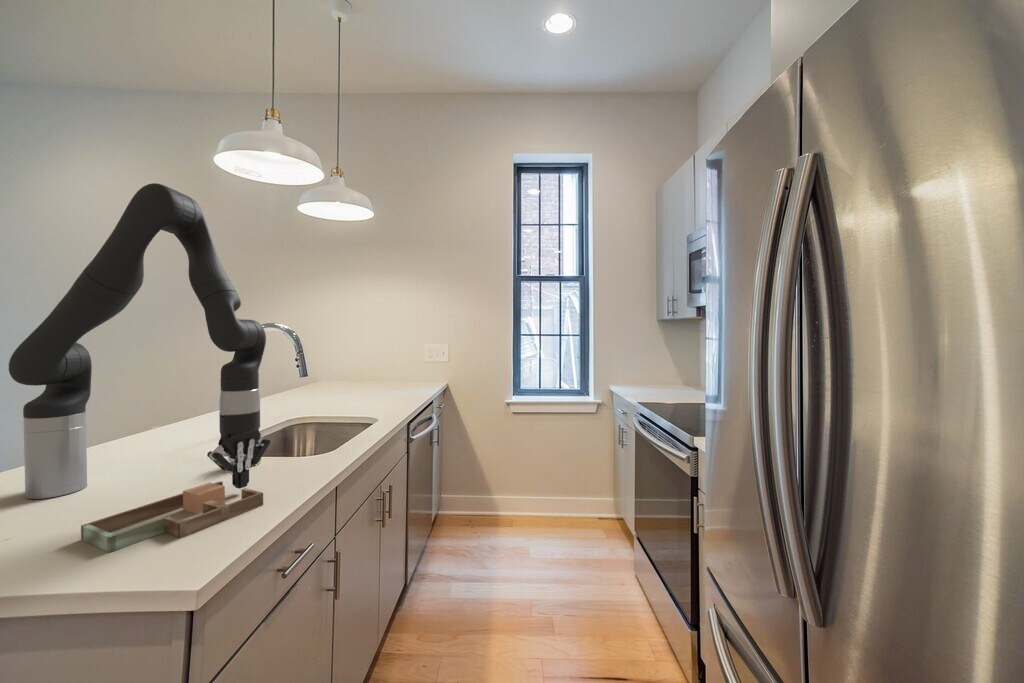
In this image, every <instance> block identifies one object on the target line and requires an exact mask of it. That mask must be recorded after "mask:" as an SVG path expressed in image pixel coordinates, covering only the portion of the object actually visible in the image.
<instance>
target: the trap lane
mask: <svg viewBox="0 0 1024 683" xmlns="http://www.w3.org/2000/svg"><path fill="white" fill-rule="evenodd" d="M213 483H214V484H218V485H222V486H224V481H221V480H220V481H217V482H213ZM240 490H241V492H240V493H241V498H240V499H239V500H236V501H233V502H231V503H228V504H226V503H225V504H223V503H219V502H216V501H212V500H210V501H207V502H204V503H203V513H201V514H197V515H195V516H193V517H191V518H188V519H185V520H181V519H178V518H174V517H172V516H170V515H165V516H162V517H159V518H156V519H153V520H151V521H147V522H144V523H141V524H138V525H135V526H133V527H130V528H127V529H125V530H122V531H119V532H116V533H111V532H112V531H111V530H113V531H115V530H114V529H116V530H118V529H117V528H119V529H121V528H120V527H122V528H124V527H123V526H125V527H127V526H126V525H128V526H130V525H129V524H131V525H133V524H132V523H134V524H136V523H135V522H137V523H139V522H138V521H140V522H142V521H141V520H143V521H145V520H148V519H151V518H154V517H156V516H157V517H158V516H161V515H162V514H165V513H168V512H170V511H171V512H172V511H174V510H177V509H180V508H183V492H182V493H179V494H177V495H173V496H170V497H167V498H164V499H160V500H156V501H154V502H151V503H150V502H149V503H147V504H144V505H141V506H138V507H136V508H135V507H134V508H133V509H128V510H125V511H123V512H119V513H116V514H113V515H110V516H107V517H104V518H100V519H97V520H95V521H91V522H87V523H85V524H82V525H80V540H81V539H82V540H81V541H83V540H84V541H83V542H85V541H86V542H85V543H87V542H88V543H87V544H90V545H92V546H95V547H96V548H99V549H101V550H103V551H105V552H108V553H113V552H115V551H118V550H120V549H123V548H126V547H128V546H131V545H134V544H137V543H139V542H142V541H144V540H147V539H149V538H153V537H154V536H157V535H160V534H162V533H166V534H168V535H171V536H174V537H177V538H180V539H181V538H184V537H186V536H188V535H191V534H194V533H197V532H199V531H202V530H204V529H207V528H209V527H211V526H214V525H217V524H219V523H221V522H224V521H226V520H228V519H232V518H234V517H236V516H238V515H239V516H240V515H241V514H243V513H246V512H249V511H251V510H254V509H256V508H258V506H259V507H260V506H264V492H262V491H259V490H254V489H251V488H247V487H243V488H240ZM150 517H151V518H150ZM147 518H148V519H147ZM144 519H145V520H144ZM108 531H110V532H108Z"/></svg>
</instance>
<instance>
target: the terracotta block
mask: <svg viewBox="0 0 1024 683" xmlns="http://www.w3.org/2000/svg"><path fill="white" fill-rule="evenodd" d="M214 483H215V482H206V483H203V484H200V485H196V486H193V487H191V488H187V489H185V490H183V491H182V493H183V507H182V510H184V511H187V512H190V513H193V514H196V515H201V514H203V503H204V502H207V501H210V500H212V501H216V502H219V503H223V504H226V495H225V494H226V491H225V490H226V489H225V487H226V486H225V485H223V486H222V485H218V484H214Z"/></svg>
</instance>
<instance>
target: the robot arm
mask: <svg viewBox="0 0 1024 683" xmlns="http://www.w3.org/2000/svg"><path fill="white" fill-rule="evenodd" d="M160 231H163V232H166V233H170V234H173V235H174V236H175V237H176V238H177V240H178V241H179V242H180V244H181V245H182V247H183V248H184V250H185V252H186V255H187V258H188V278H189V279H188V280H189V282H190V286H191V288H192V290H193V292H194V293H195V294H194V295H195V296H196V297H197V299H198V301H199V303H200V304H201V306H202V308H203V311H204V316H205V323H206V326H207V331H208V332H207V333H208V334H209V335H208V336H209V337H210V340H211V341H212V343H213V344H214V345H215V346H216V347H217V348H218V349H219V350H221V351H222V352H227V353H229V352H230V353H234V354H233V358H232V360H231V361H230V362H227V363H225V364H223V365H222V366H221V368H220V394H219V403H218V404H219V406H218V408H219V411H218V412H219V433H220V438H219V440H218V442H217V444H218V445H217V447H216V448H215V449H214V450H213V451H212V450H211V451H208V452H207V455H206V456H207V457H208V458H209V459H210V460H211V461H212V462H213V463H215V465H217V466H218V467H219V469H221V470H222V471H225V472H228V473H229V472H230V473H231V476H232V477H231V478H232V479H231V481H232V483H231V484H232V486H233V487H234V488H236V489H238V490H239V489H240V490H241V489H244V488H247V486H248V484H249V482H250V470H251V467H254V466H253V465H256V464H257V463H258V462H259V460H260V459H261V460H262V457H263V456H264V454H265V452H266V451H267V448H268V447H269V445H270V444H271V440H270V439H265V438H264V437H262V436H261V435H262V433H261V431H260V428H261V396H260V389H259V386H260V381H259V379H260V378H259V375H260V374H259V373H260V372H259V369H260V366H261V363H262V359H263V356H264V352H265V350H266V349H265V348H266V344H267V336H266V332H265V329H264V326H263V325H262V324H261V323H260V322H258V321H257V320H255V319H239V318H238V317H237V315H236V311H238V310H239V309H240V307H241V305H242V301H241V298H240V296H239V294H238V292H237V291H236V289H235V286H234V285H233V284H232V280H230V278H229V277H228V276H229V275H227V273H226V271H225V269H224V267H223V265H222V262H221V260H220V258H219V256H218V253H217V250H216V247H215V243H214V241H213V238H212V235H211V233H210V229H209V226H208V224H207V220H206V217H205V214H204V212H203V210H202V207H201V206H200V204H199V203H197V201H196V200H195V199H193V198H192V197H190V196H188V195H186V194H183V193H182V192H179V190H175V189H173V188H172V187H168V186H166V185H164V184H161V183H156V182H155V183H154V182H153V183H148V184H146V185H143V186H142V187H140V188H139V190H137V191H136V192H135V194H134V195H133V196H132V197H131V199H130V201H129V202H128V205H126V208H125V209H124V211H123V212H122V215H121V216H120V219H119V220H118V222H117V224H116V225H115V227H114V229H113V230H112V232H111V233H110V235H109V236H108V238H107V239H106V240H105V242H104V244H103V245H102V246H101V247H100V249H99V251H97V253H96V254H95V256H94V257H93V258H92V260H91V261H90V262H89V263H88V264H87V266H86V267H85V268H84V269H83V270H82V272H81V273H80V274H79V276H78V277H77V278H76V280H75V281H74V282H73V284H72V285H71V287H70V288H69V289H68V291H67V293H66V294H65V295H64V296H63V297H62V298H61V300H60V301H59V302H58V303H57V305H56V306H55V307H54V309H53V310H52V311H51V312H50V313H49V314H48V316H46V318H45V319H44V320H42V322H41V323H40V324H39V325H38V326H37V327H36V328H35V329H34V330H32V332H31V333H30V334H29V335H28V336H27V337H26V338H25V339H24V340H23V341H22V342H21V343H20V344H19V345H18V346H17V348H16V349H15V350H14V352H13V353H12V354H11V357H10V359H9V361H8V373H9V375H10V377H11V378H12V379H13V381H14V382H16V383H19V384H20V385H25V386H34V387H35V386H45V389H44V391H43V392H42V393H40V394H39V395H38V396H37V397H35V398H34V399H32V400H30V401H29V402H27V403H25V404H24V405H23V409H22V410H23V411H22V415H23V416H22V417H23V418H22V420H23V447H24V448H23V451H24V454H23V456H24V490H25V491H24V493H25V494H24V497H25V498H26V499H29V500H41V499H49V498H54V497H61V496H64V495H69V494H72V493H75V492H78V491H80V490H83V489H85V488H87V486H88V457H87V456H88V454H87V451H88V450H87V414H86V413H87V407H86V406H87V403H88V402H89V400H90V397H91V389H92V387H91V386H92V372H93V368H92V366H93V364H92V358H91V355H90V352H89V351H88V349H87V348H86V347H85V346H84V345H83V344H80V343H78V341H79V340H80V339H82V337H83V336H85V335H86V334H88V333H89V332H90V331H92V330H94V329H96V328H97V327H99V326H100V325H103V324H105V323H106V322H107V321H109V320H110V319H113V318H114V317H115V316H117V315H119V314H120V313H122V311H123V310H124V309H126V307H127V306H128V305H129V304H130V302H131V301H132V300H133V299H134V297H135V296H136V294H138V292H139V291H140V288H142V286H143V284H144V283H143V282H144V276H145V274H144V273H145V272H144V270H145V268H144V267H145V266H144V257H145V253H146V251H147V248H148V246H149V245H150V244H151V242H152V241H153V239H154V238H155V236H156V235H157V234H158V233H159V232H160ZM225 454H226V455H227V459H226V458H225ZM256 466H257V465H256Z"/></svg>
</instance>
